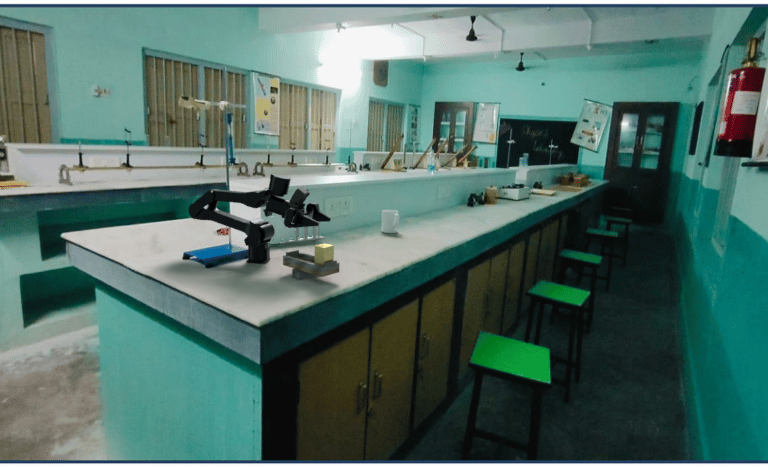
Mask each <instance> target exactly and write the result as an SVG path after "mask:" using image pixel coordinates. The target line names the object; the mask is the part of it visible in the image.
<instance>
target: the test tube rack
mask: <svg viewBox="0 0 768 467" xmlns="http://www.w3.org/2000/svg"><path fill="white" fill-rule="evenodd" d="M295 234H296V239H295V240H289V241H284V242H280V244H279V245H281V244H292V243H299V242H300V243H301V242H307V241H317V240H321V239H322V240H323V239H324V240H325V236H322V235H321V222H319V226H312V235H311V236H312V237H309V227H303V237H304V238H300V227H298V228H296V231H295V230H294V235H295ZM299 238H300V239H299Z"/></svg>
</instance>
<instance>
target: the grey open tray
mask: <svg viewBox="0 0 768 467" xmlns="http://www.w3.org/2000/svg"><path fill="white" fill-rule="evenodd" d="M282 265H283V266H285V267H288V268H291V270H292V271H291V275H292V276H291V278H292V279H293V280H295V281H296V280H297V281H301V280H305V279H308V278H312V277H315V276H316V277H317V276H318V277H320V278H324V277H327V276H330V275H334V274H338V273H340V262H338V260H334V261H330V262H326V263H324V266H321V265H317V264H315V255H314V254H313V255H312V254H308V253H305V252H301V251H300V250H299V249H295V250H291V251H285V255H283V256H282Z"/></svg>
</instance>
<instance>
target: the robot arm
mask: <svg viewBox="0 0 768 467" xmlns="http://www.w3.org/2000/svg"><path fill="white" fill-rule="evenodd" d="M291 180H292V178H291V177H290V176H288V175H285V174H284V175H282V174H276V173H271V174H270V177H269V183H268V188H266V189H261V190H253V191H251V190H250V191H237V190H224V189H218V188H213V189H208V190H207V191H206V192H205V193H204V194H202V196H200V197H199V198H197V199H196V200H195V201H194V202H191V204H190V205H189V206H188V214H189V217H190V218H191V219H193V220H198V221H211V222H214V223H217V224H219V225H223V226H225V227H228V228H230V229H234V230H237V231H238V232H242V233H244V234H245V235H246V237H245V238H244V239H243V241H244V244H245V246H246V247H247V254H248V255H247V256H248V258H247V260H246V261H245V262H246V263H255V264H265V263H267V262H268V261H270V260H271V256H270V255H271V254H270V252H271V251H270V250H271V249H270V247H269V243H268V242H270V241H272V237H273V236H274V237H275V235H276V229H275V226H274V227H273V225H272V223H270V221H269V220H264V219H262V218H260V217H259V218H255V219H251V220H248V219H246V218H243V217H240V216H237V215H234V214H232V213H228V212H226V211H223V210H220V209H218V207H217V206H218V204H219V202H227V203H234V204H242V205H244V206H246V207H248V208H253V209H260V208H264V207H265V208H264V209H263V210H262V211H263V212H264V217H266V218H268V217H272V216H273V214H275V215H276V214H278V215H280V216H281V218H284V219H283V225H284V226H285V227H288V228H290V229H292V228H293V229H295V228H298V227H299V228H304V227H308V228H309V227H311V228H312V227H313V226H317V227H318V226H319V222H320V223H321V222H322V223H323V222H329V223H330V222H331V221H332V219H331V217H329V216H328V215H327V214H325V213H324V212H323V211H321V209H320V204H319V203H318V202H315V201H313V202H312V201H311V202H309V203H308V204H306V203H305V201H306V200H307V198H308V197H309V196H310V194H311V193H310V191H309V189H308V188H306V187H303V186H302V187H298V188H296V190H295V191H294V193H293V194H292V196H291V198H290V199H289V200H288V199H286V198H284V197H285V196H286V195H288V193H289V189H290V185H291Z"/></svg>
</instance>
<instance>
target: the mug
mask: <svg viewBox="0 0 768 467" xmlns="http://www.w3.org/2000/svg"><path fill="white" fill-rule="evenodd" d="M400 218H401V217H400V215H399V210H397V209H382V210H381V224H380V226H381V232H382V233H385V234H396V233H397V232H398V225H399V223H400Z"/></svg>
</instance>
